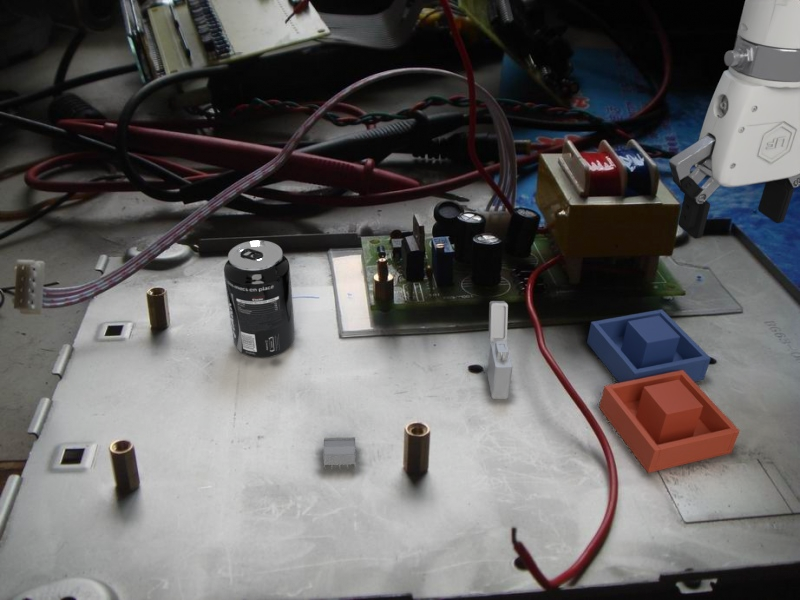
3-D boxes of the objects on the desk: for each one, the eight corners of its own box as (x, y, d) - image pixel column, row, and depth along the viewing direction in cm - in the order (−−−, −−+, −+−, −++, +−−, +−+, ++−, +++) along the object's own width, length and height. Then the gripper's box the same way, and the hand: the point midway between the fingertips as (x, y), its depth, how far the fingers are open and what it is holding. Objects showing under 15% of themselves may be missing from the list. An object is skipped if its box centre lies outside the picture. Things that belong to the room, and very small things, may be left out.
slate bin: (656, 329, 88) (662, 309, 86) (704, 379, 81) (711, 358, 79) (586, 342, 86) (591, 321, 84) (629, 395, 79) (634, 373, 77)
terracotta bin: (676, 391, 79) (683, 369, 78) (731, 453, 72) (740, 431, 71) (599, 407, 77) (604, 385, 75) (647, 473, 70) (654, 450, 68)
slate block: (651, 343, 85) (659, 315, 83) (671, 365, 82) (680, 336, 80) (620, 349, 84) (627, 320, 82) (639, 371, 81) (647, 342, 79)
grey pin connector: (323, 470, 70) (322, 455, 68) (324, 452, 71) (323, 438, 70) (356, 469, 70) (355, 454, 69) (355, 451, 71) (355, 437, 70)
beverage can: (257, 320, 88) (247, 231, 81) (307, 336, 86) (301, 246, 79) (222, 353, 83) (207, 261, 76) (273, 371, 81) (264, 278, 74)
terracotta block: (669, 408, 76) (678, 379, 74) (693, 436, 73) (703, 406, 71) (635, 416, 75) (643, 386, 73) (657, 444, 72) (666, 414, 70)
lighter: (508, 398, 78) (516, 338, 73) (491, 398, 78) (499, 338, 73) (499, 355, 84) (506, 296, 79) (483, 355, 84) (489, 296, 79)
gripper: (720, 82, 62) (678, 256, 72) (887, 60, 66) (826, 228, 76) (668, 55, 68) (636, 220, 78) (825, 37, 72) (775, 195, 82)
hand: (730, 224), depth 77 cm, fingers open, 9 cm apart
